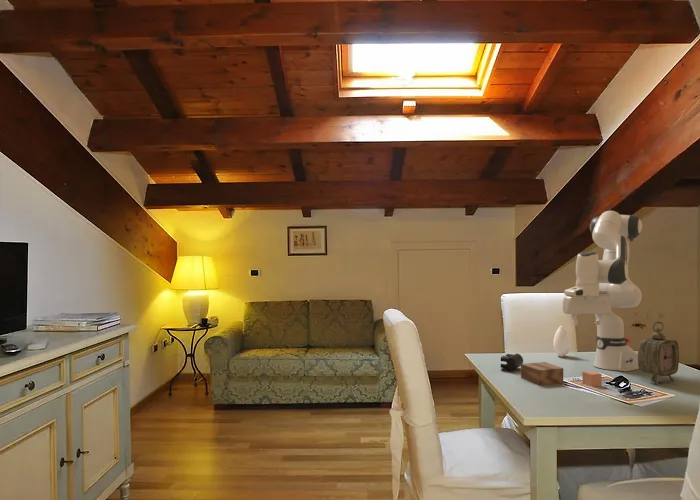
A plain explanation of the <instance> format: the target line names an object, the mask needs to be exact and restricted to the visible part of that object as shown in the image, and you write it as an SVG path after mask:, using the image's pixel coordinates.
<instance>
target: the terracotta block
mask: <svg viewBox="0 0 700 500" xmlns="http://www.w3.org/2000/svg"><path fill="white" fill-rule="evenodd" d="M581 375H582V376H581V377H582V379H581V380H582V385H585V384H586V385H585V386H588V385H589V386H588V387H590V386H595V387H602V386H601V385H603V381H602V380H603V379H602V375H603V374H602V373H601V372H597V371H594V370H586V371H582V374H581Z"/></svg>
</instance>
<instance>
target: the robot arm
mask: <svg viewBox="0 0 700 500" xmlns="http://www.w3.org/2000/svg"><path fill="white" fill-rule="evenodd" d="M642 229H643V222H642V219H641V218H640V216H638V215H634V214H630V215H629V214H620V213H619V212H618V211H615V210H607V211H603V212H602V213H601V215H597V216H595V217H593V218H592V219H591V221H590V224H589V230H590V233H591V237H592V241H593V242H594V243H595V244H596V245H597V246H598V247H599V248H601V249H603V253H602V254H603V255H602V259H599V255H598V253H597V252H595V251H582V252H578V253H577V256H576V261H575V276H576V280H575V286H573V287H569V288H567V289H564V292H563V294H564V297H563V300H562V311H563V313H564V314H566V315H570V316H571V318H572V320H573V325H574V326H579V325H580V320H578V315H594V316H595V320H594V321H593V322H594V325H596V330H597V331H596V334H597V335H596V336H595V343H596V350H595V358H594V362H593V366H594V367H596V368H599V369H604V370H607V371H620V372H630V371H635V370H640V369H639V367H638V352H636V351H635V350H634V349H633V348H631V347H630V346H629V345H628V343H631V342H632V341H633V340H632V338H630V337H625V332H624V331H625V329H624V327H625V326H624V320H623V318H621V317H620V316H619V315H616V314H615V313H614V312H613V311H612V308H621V309H622V308H623V309H627V308H635V307H638V306H639V304H640V303H641V301H642V298H643V296H642V295H643V294H642V291H641V289H640V288H639V287H638V286H637V285H636V284H634V283H633V282H632V280H631V279H630V277H629V260H630V243H631V242H634V240H635V239H637V238H638V237H639V236H640V234H641V232H642Z"/></svg>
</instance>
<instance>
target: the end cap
mask: <svg viewBox="0 0 700 500" xmlns="http://www.w3.org/2000/svg"><path fill="white" fill-rule="evenodd" d="M500 361H501V362H504V363H506V364H504V363H500V371H501V372H502V371H503V372H509V373H510V372H513V371H514V370H516V369H518V368H521V364H524V357H523V356H522V355H521V354H519V353H515V354H512V353H511V354H510V353H507V354H505V355H502V356H501V357H500Z"/></svg>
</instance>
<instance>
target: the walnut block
mask: <svg viewBox="0 0 700 500" xmlns="http://www.w3.org/2000/svg"><path fill="white" fill-rule="evenodd" d="M520 378H521V379H523V380H525V381H527V382H530V383H532V384H535V385H537V386H541V385H543V386H544V385H555V384H563V383H564V367H561V366H557V365H554V364H552V363H548V362H546V361H540V362H538V361H537V362H530V363H529V362H528V363H523V364H521V366H520Z"/></svg>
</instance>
